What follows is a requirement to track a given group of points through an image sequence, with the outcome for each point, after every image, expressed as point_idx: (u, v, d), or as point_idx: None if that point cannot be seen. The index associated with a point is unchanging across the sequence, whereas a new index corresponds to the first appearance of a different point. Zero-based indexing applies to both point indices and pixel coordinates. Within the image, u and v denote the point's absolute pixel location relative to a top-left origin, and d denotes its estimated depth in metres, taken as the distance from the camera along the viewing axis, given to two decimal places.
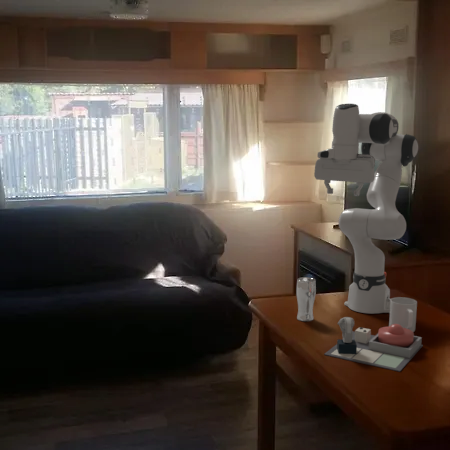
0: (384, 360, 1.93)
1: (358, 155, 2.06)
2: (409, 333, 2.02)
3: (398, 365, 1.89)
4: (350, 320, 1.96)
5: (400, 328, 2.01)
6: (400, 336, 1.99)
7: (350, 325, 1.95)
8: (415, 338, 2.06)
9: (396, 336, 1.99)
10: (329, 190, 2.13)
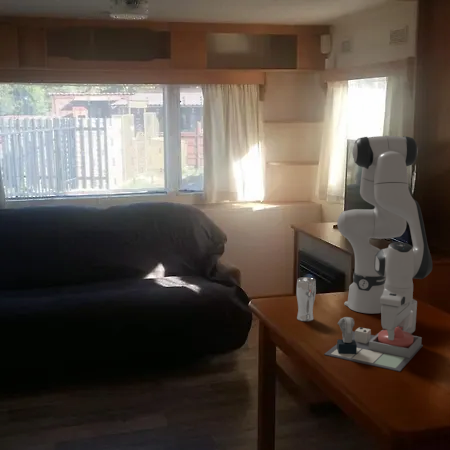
0: (384, 360, 1.93)
1: None
2: (409, 336, 2.02)
3: (398, 365, 1.89)
4: (350, 320, 1.96)
5: (400, 331, 2.01)
6: (400, 339, 1.99)
7: (350, 325, 1.95)
8: (415, 338, 2.06)
9: (396, 339, 1.99)
10: (394, 336, 1.98)
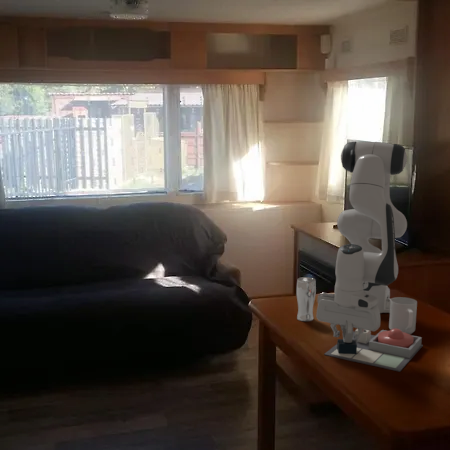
0: (384, 360, 1.93)
1: None
2: (409, 337, 2.02)
3: (398, 365, 1.89)
4: None
5: (400, 333, 2.01)
6: (400, 341, 1.99)
7: (351, 325, 1.95)
8: (415, 338, 2.06)
9: (396, 340, 1.99)
10: None
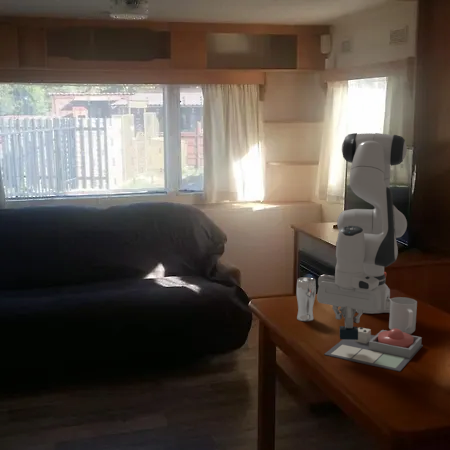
0: (384, 360, 1.93)
1: None
2: (409, 337, 2.02)
3: (398, 365, 1.89)
4: None
5: (400, 333, 2.01)
6: (400, 341, 1.99)
7: (350, 309, 1.95)
8: (415, 338, 2.06)
9: (396, 340, 1.99)
10: None
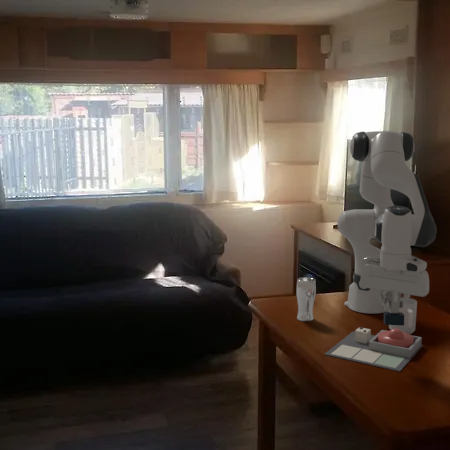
0: (384, 360, 1.93)
1: None
2: (409, 337, 2.02)
3: (398, 365, 1.89)
4: None
5: (400, 333, 2.01)
6: (400, 341, 1.99)
7: (397, 293, 1.86)
8: (415, 338, 2.06)
9: (396, 340, 1.99)
10: None
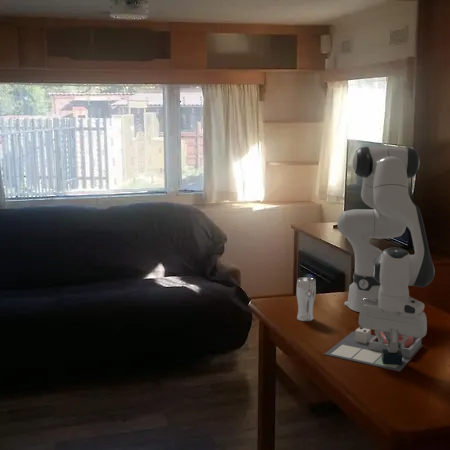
0: None
1: None
2: (409, 337, 2.02)
3: (398, 365, 1.89)
4: None
5: None
6: None
7: (395, 334, 1.87)
8: (415, 338, 2.06)
9: None
10: None
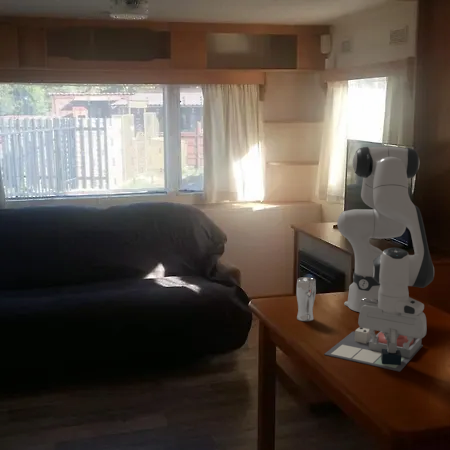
0: None
1: None
2: None
3: (398, 365, 1.89)
4: None
5: None
6: (400, 341, 1.99)
7: (394, 335, 1.87)
8: (415, 338, 2.06)
9: None
10: None
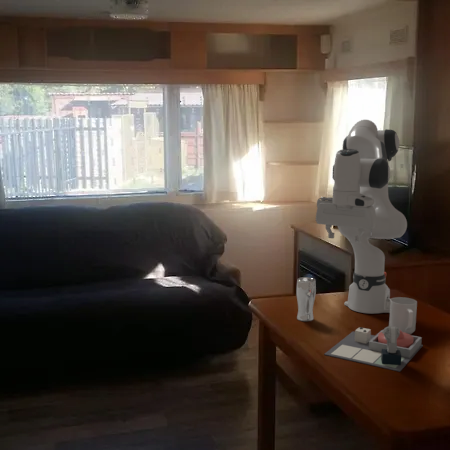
0: None
1: None
2: (409, 337, 2.02)
3: (398, 365, 1.89)
4: (395, 329, 1.88)
5: (400, 333, 2.01)
6: (400, 341, 1.99)
7: (394, 335, 1.87)
8: (415, 338, 2.06)
9: None
10: None
